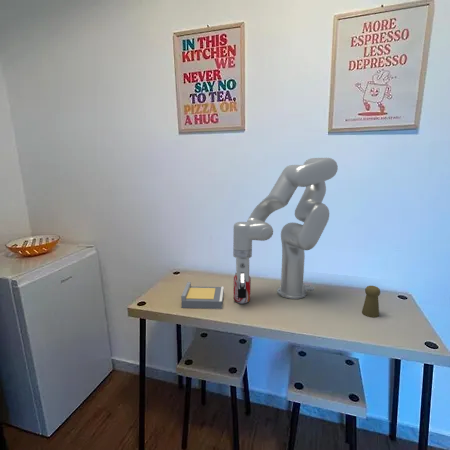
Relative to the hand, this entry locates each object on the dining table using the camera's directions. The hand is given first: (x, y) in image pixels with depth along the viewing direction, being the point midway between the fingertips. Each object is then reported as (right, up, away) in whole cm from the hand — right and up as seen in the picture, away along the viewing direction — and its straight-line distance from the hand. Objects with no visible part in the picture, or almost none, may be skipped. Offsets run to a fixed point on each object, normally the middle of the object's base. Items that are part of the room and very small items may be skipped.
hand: (241, 293), depth 130 cm
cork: (+49, -6, -10) cm, 50 cm away
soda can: (0, -3, +1) cm, 4 cm away
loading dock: (-16, -3, +1) cm, 16 cm away
